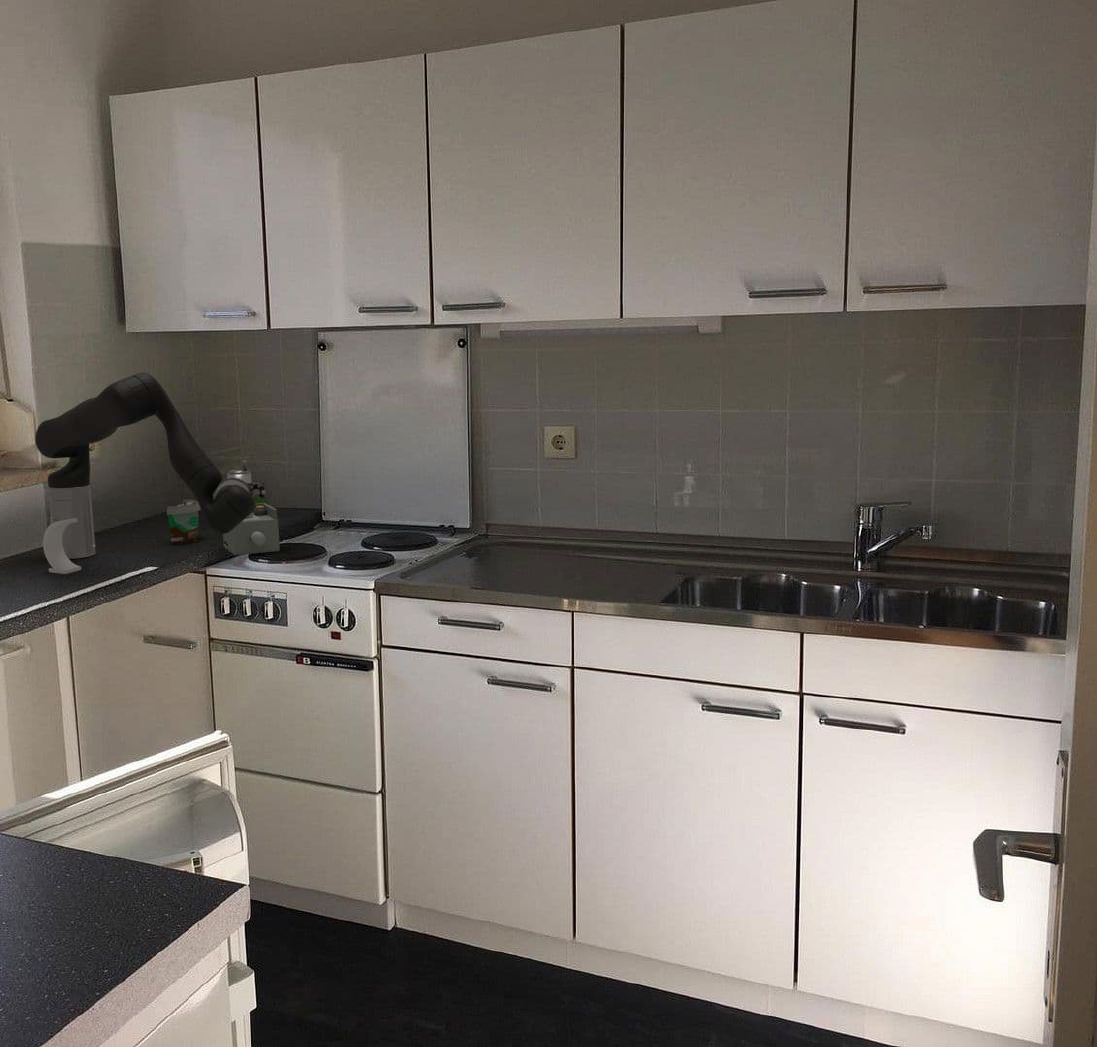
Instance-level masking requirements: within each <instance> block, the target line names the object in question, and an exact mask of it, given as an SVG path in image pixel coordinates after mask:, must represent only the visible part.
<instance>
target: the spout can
mask: <svg viewBox="0 0 1097 1047" xmlns="http://www.w3.org/2000/svg"><path fill="white" fill-rule="evenodd" d="M241 466H242V467H241V468H242V469H233V470H228V473H227V474H226V476H227V478H226V479H228V478H238V479H241V480H243V481H244V482H245V483H247V482H248V483H252V473H251V471H250V469H248V460H242V461H241ZM252 517H254V516H253V512H252V513H251V514H250V515H249V516H248V517H247V518H245V519H248V518H252Z"/></svg>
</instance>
